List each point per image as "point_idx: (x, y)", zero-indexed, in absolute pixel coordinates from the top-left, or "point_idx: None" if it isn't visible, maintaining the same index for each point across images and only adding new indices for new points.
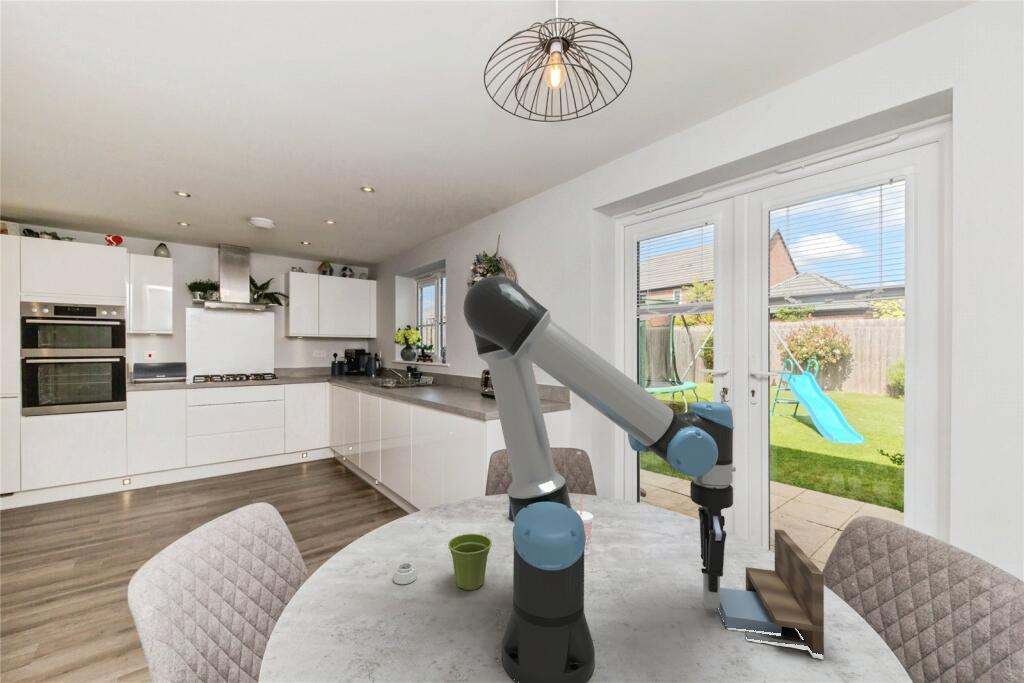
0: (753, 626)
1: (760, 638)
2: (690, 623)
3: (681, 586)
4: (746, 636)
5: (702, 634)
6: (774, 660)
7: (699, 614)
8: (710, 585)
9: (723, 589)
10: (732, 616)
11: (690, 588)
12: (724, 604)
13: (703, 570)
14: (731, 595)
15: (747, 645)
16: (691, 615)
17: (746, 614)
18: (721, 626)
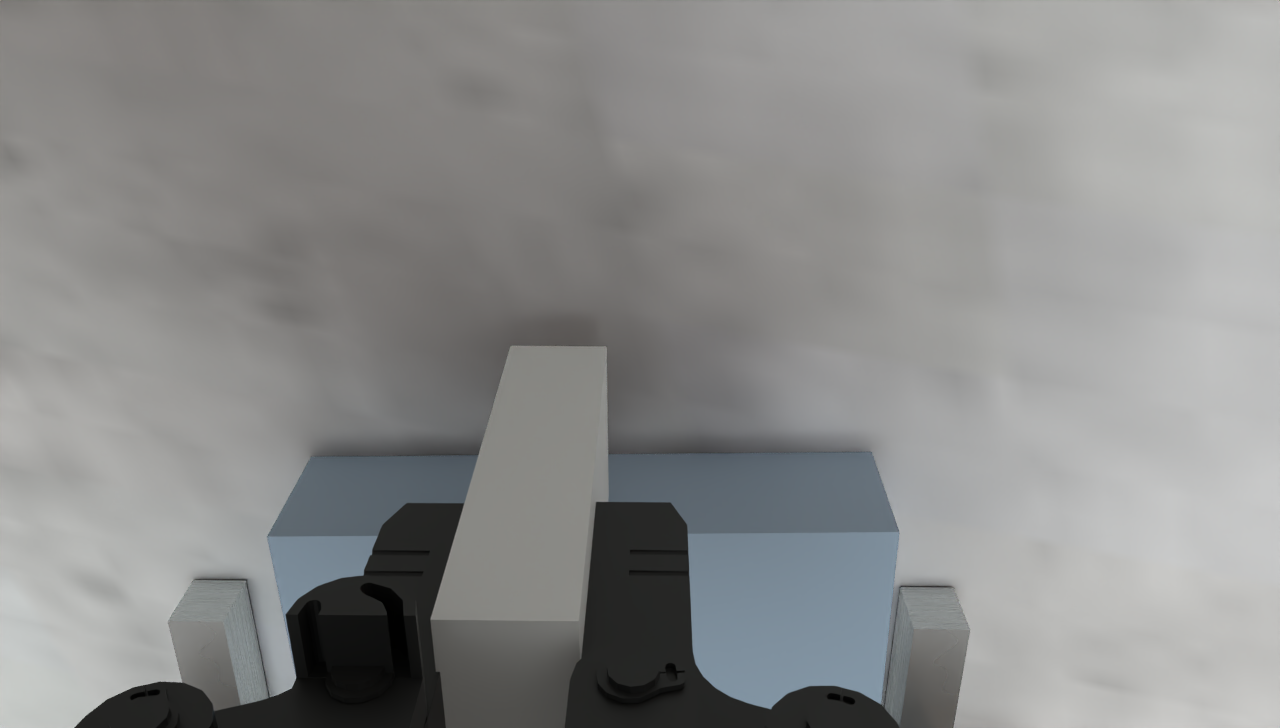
0: None
1: None
2: (274, 119)
3: (1111, 131)
4: (191, 603)
5: (119, 216)
6: (33, 700)
7: (499, 250)
8: (365, 573)
9: (850, 619)
10: (288, 590)
11: (1070, 239)
12: None
13: (329, 634)
14: (732, 666)
15: (139, 570)
16: (447, 156)
17: None
18: (350, 425)
